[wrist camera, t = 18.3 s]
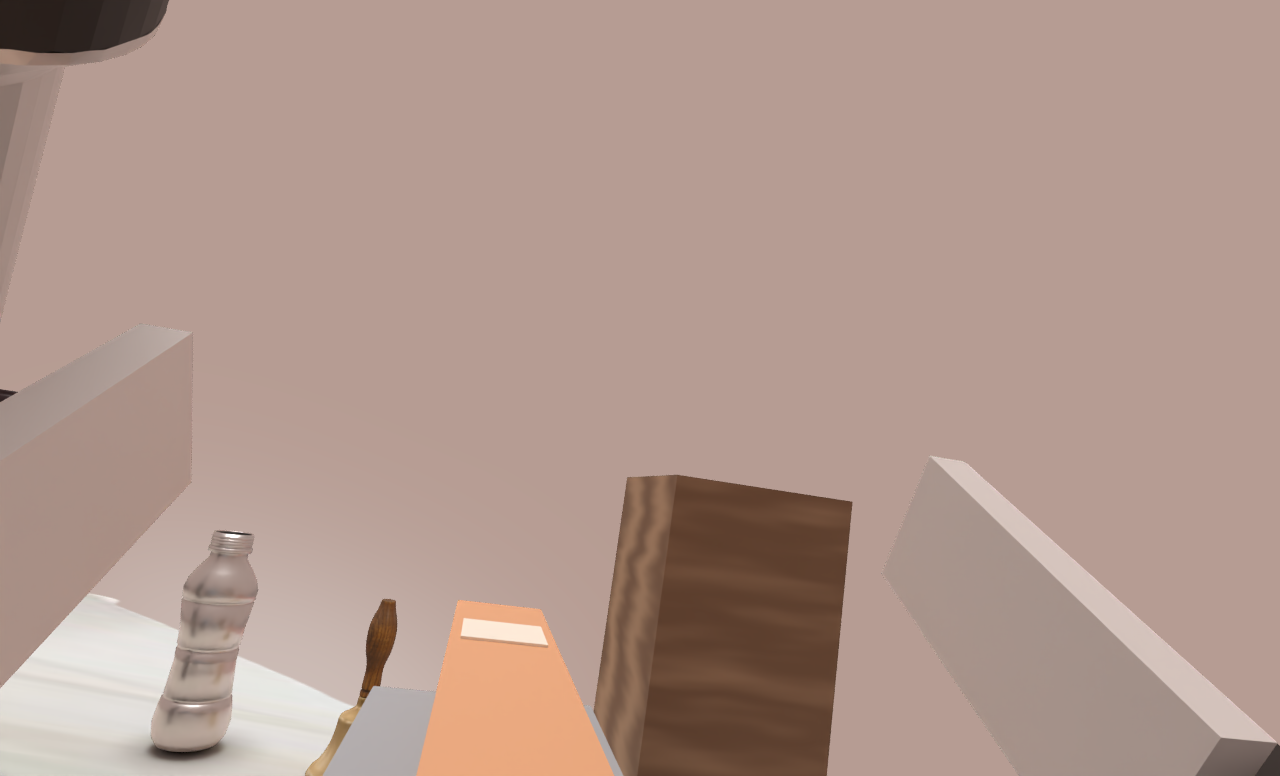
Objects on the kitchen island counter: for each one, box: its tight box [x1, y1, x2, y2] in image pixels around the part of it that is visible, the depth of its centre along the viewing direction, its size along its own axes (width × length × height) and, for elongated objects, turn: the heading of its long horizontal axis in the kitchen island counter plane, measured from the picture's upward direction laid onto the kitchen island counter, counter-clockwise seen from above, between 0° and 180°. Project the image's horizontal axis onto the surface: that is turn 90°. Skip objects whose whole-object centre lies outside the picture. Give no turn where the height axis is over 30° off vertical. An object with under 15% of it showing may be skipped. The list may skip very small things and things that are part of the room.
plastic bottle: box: [151, 530, 258, 752], centre depth 70 cm, size 6×7×20 cm
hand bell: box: [305, 599, 397, 776], centre depth 69 cm, size 8×8×16 cm
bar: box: [416, 600, 614, 776], centre depth 23 cm, size 24×4×4 cm, turn 12°
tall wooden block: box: [594, 475, 852, 776], centre depth 43 cm, size 14×10×30 cm
